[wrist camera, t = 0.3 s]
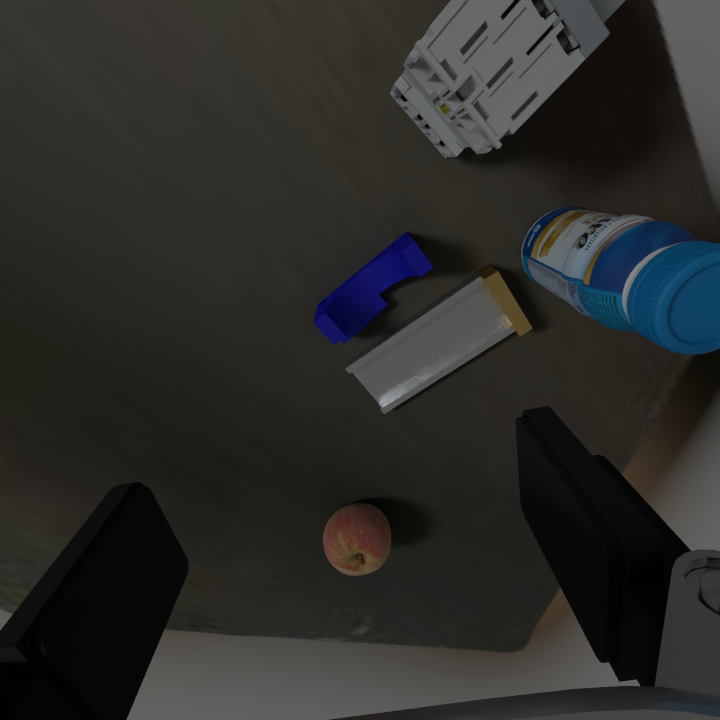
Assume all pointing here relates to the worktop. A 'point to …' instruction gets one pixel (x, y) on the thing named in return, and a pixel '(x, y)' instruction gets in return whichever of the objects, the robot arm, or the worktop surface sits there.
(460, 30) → the circuit breaker
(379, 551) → the apple
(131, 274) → the worktop surface
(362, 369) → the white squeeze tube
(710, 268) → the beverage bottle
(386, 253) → the blue plastic bracket
